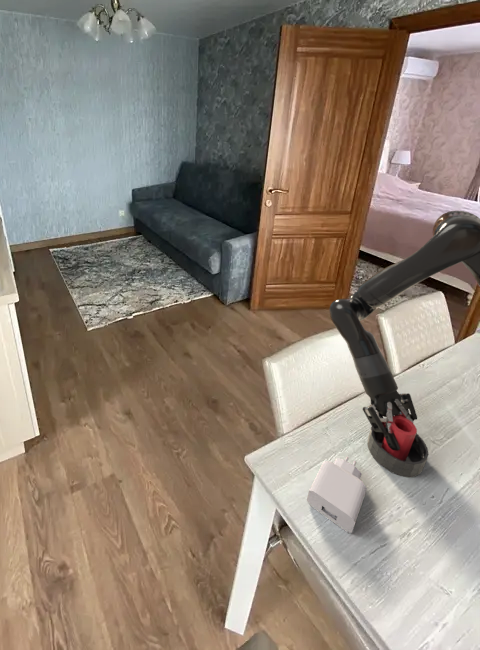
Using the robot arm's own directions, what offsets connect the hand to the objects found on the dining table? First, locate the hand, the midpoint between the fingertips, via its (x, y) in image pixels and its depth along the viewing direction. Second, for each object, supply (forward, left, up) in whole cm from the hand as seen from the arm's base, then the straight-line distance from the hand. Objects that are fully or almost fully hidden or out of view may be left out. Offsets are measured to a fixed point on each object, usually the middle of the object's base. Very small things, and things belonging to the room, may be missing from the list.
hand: (405, 445), depth 83 cm
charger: (+17, +11, -5) cm, 20 cm away
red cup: (+1, -2, -4) cm, 5 cm away
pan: (+1, -1, -5) cm, 5 cm away
